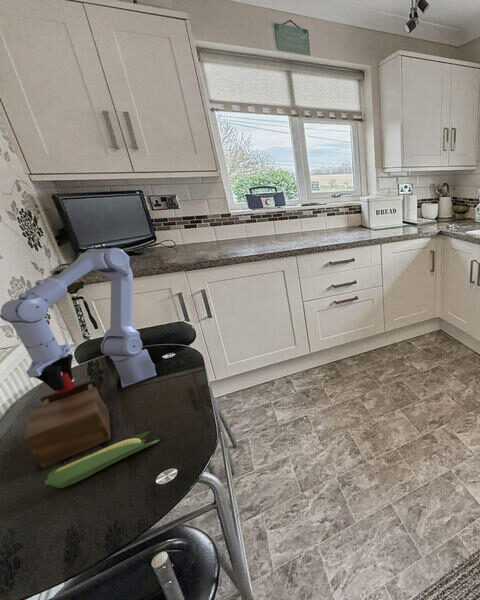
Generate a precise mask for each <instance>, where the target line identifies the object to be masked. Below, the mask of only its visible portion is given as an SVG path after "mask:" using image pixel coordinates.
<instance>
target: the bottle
mask: <svg viewBox="0 0 480 600" xmlns="http://www.w3.org/2000/svg"><path fill="white" fill-rule="evenodd" d="M61 376H62V379H63V382H64V385H65V388H64V389H62V390H57V391H55V392H57V393H64V392H67V391H69V390H71V389H73V388H74V386H75V384H74V382H73V380H71V379H70V377H69V375H68V373H67V372H63V373H62V371H61Z"/></svg>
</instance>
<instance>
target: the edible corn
mask: <svg viewBox="0 0 480 600" xmlns="http://www.w3.org/2000/svg"><path fill="white" fill-rule="evenodd" d="M151 432H152V430H150V431H149V430H148V431H144V432H142V433H139V434H137V435H134V436H131V437H129V438H126V439H123V440H121V441H118V442H115V443H113V444H110V445H107V446H105V447H102V448H100V449H97V450H95V451H92V452H90V453H89V452H88V453H87V454H85V455H82V456H79V457H77V458H75V459H72V460H69V461H67V462H64V463H63V464H61V465H58V466H57V467H55V468H54V469H52V470H51V471H50V472H49V473H48V474H47V478H46V479H44V484H45V485H46V486H51V487H53V488H56V489H63V488H67V487H70V486H72V485H75V484H76V483H79V482H81V481H83V480H84V479H87V478H89V477H91V476H92V475H95V474H96V473H99V472H100V471H102V470H105V469H106V468H108V467H110V466H112V465H114V464H116V463H118V462H120V461H122V460H124V459H126V458H128V457H129V456H132V455H134V454H135V453H138V452H140V451H142V450H144V449H147V448H148V447H150V446H152V445H154V444H157V443H158V442H159V441H160V439H155V440H152V441H150V442H147V443H145V442H146V439H144V438H145V437H146V436H147V435H149V434H150V433H151Z"/></svg>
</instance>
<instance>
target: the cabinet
mask: <svg viewBox="0 0 480 600" xmlns="http://www.w3.org/2000/svg"><path fill="white" fill-rule="evenodd" d="M110 421H111V420H110V412H109V410H108V408H107V406H106V404H105V402H104V401H103V400H102V398H101V396H100V394H99V392H98V390H97V388H96V387H94V388H91V389H88V390H86V391H83V392H80V393H77V394H74V395H71V396H69V397H66V398H63V399H60V400H57V401H54V402H52V403H49V404H46V405H43V404H42V405H41V406H38V407H35V408H32V409H31V412H30V415H29V419H28V423H27V426H26V430H25V432H24V436H23V441H24V442H25V444H26V446H27V447H28V449H29V450H30V452H31V454H32V455H33V456H34V457H35V459H36V461H37V462H38V464H39V465H40V468H42V469H45V468H48V467H50V466H53V465H55V464H57V463H59V462H62V461H65V460H67V459H69V458H71V457H73V456H76V455H78V454H81V453H83V452H85V451H87V450H90V449H92V448H94V447H96V446H98V445H99V446H100V445H101V444H103V443H106V442H108V441H110V440H111V439H112V438H111V423H110Z"/></svg>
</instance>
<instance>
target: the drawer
mask: <svg viewBox="0 0 480 600" xmlns="http://www.w3.org/2000/svg"><path fill="white" fill-rule="evenodd" d="M94 387H96V388H97V390H98V392H99V394H100V396H101V398H102V400H103V402H104V401H106V400H105V397H104V394H103V393H102V391H101V389H100V387H99V385H98V383H97V380H96V379H95V378H92V379H90V380H87V381H84V382H80V383H78V384H74V388H73V389H71V390H69V391H67V392H64V393H57V392H56V391H54V392H51V393H49V394H46V395H43V396H40V401H41V402H42V406H43V405H46V404H49V403H52V402H54V401H57V400H60V399H63V398H66V397H69V396H71V395H74V394H77V393H80V392H83V391H86V390H88V389H91V388H94Z"/></svg>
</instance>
